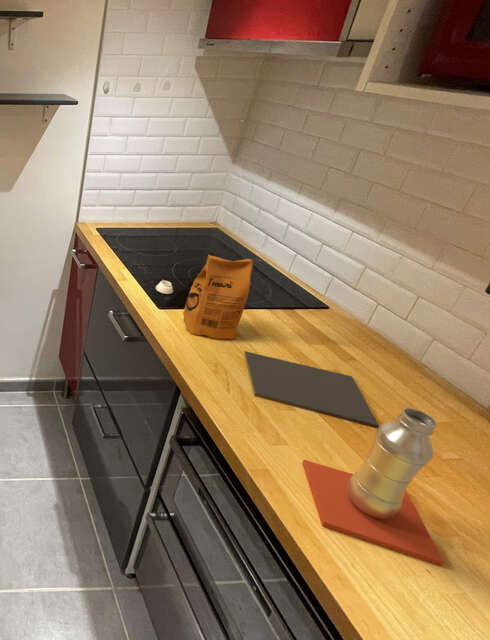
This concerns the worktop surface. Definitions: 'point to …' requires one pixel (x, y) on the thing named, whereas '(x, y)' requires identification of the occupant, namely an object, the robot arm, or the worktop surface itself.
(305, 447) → the worktop surface
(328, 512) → the terracotta tile
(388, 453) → the plastic bottle
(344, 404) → the slate board
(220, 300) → the coffee package
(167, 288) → the white ridged tapered disc
